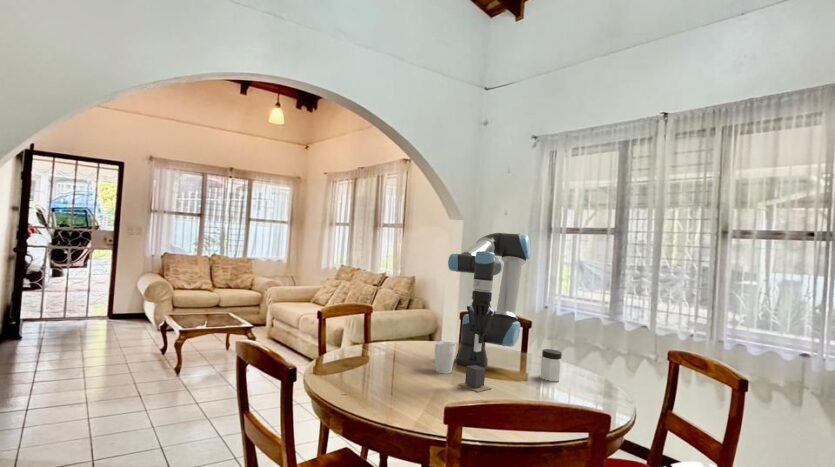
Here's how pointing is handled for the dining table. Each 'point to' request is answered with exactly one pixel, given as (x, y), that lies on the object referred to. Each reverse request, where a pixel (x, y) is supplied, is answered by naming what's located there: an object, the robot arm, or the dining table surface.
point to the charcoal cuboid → (475, 376)
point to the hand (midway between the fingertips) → (477, 351)
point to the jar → (550, 364)
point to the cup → (444, 356)
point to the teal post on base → (477, 389)
